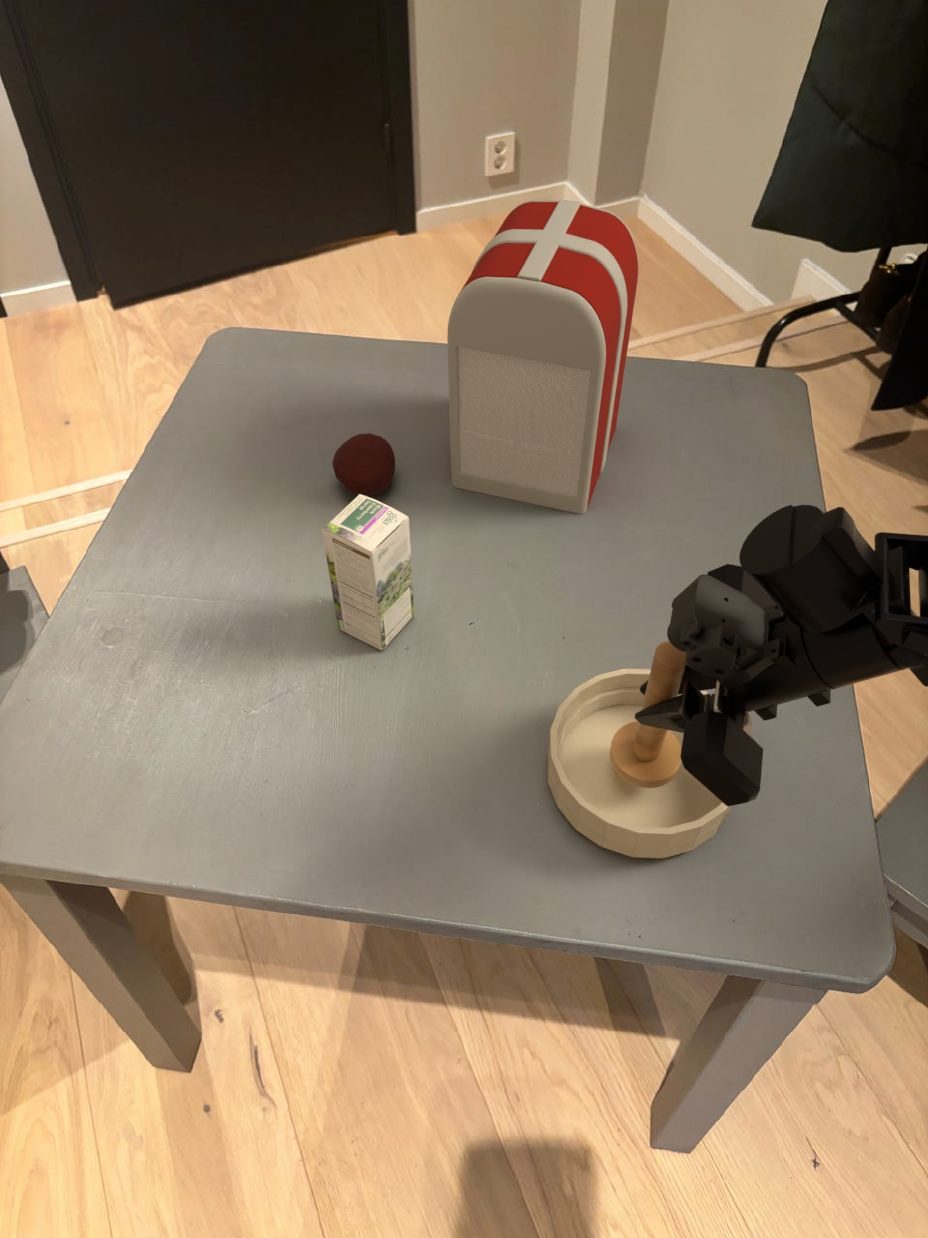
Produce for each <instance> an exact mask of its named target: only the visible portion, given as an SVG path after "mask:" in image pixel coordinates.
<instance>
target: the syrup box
mask: <svg viewBox="0 0 928 1238" xmlns="http://www.w3.org/2000/svg"><path fill="white" fill-rule="evenodd" d="M321 533H322V539H323V544H324V545H323V546H324V551H325V557H326V563H327V570H328V577H329V582H330V587H331V594H332V599H333V606H334V612H335V613H334V614H335V619H336V626H337V629H339V630H340V631H342V632H344V633H346V634H347V635H349V636H351V637H353V638H355V639H357V640H358V641H361V642H363V643H365V644H367V645H369V646H371V647H373V648H375V649H378V650H379V651H381V652H384V651H385V650H386V649H387V648H388V646H389V645H390V644H391V643H392V642H393V641H394V639H395V638H396V637H397V636H398V635H399V634H400V633H401V632H402V630H403V629H404V628H405V627H406V626H407V625H408V624H409V622H411V620H412V619H413V618H414V617H415V602H414V587H413V586H414V585H413V583H414V582H413V566H412V565H413V563H412V549H411V535H410V534H411V533H410V518H409V516H408V515H407V514H405V513H403V512H401V511H399V510H397V509H396V508H393V507H392V506H389V505H387V504H385V503H384V502H381V501H379V500H377V499H374V498H372V497H369V496H367V495H361V494H359V495H357V496H356V497H354V499H353V500H352V501H351V502H349V504H347V505H346V506H345V507H344V508H343V509H342V510H341V511H340V512H339V513H338V514H337V515H336V516H335V517H334V518H332V520H330V522H329V523H327V524H326V525H325V526H324V527H323V528H322V529H321Z"/></svg>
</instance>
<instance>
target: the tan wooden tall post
mask: <svg viewBox="0 0 928 1238" xmlns="http://www.w3.org/2000/svg"><path fill="white" fill-rule="evenodd" d="M685 658H686V652H685V651H680V650H678V649H677V648H675V647H674V646H673V645H672V644H671V643H670V641H669V640H668V641H663V642H661V643H660V644H658V645H657V646H656V648H655V651H654V654H653V658H652V663H651V667H650V669H651V671H650V675H649V680H648V684H647V688H646V692H645V696H644V701H643V705H642V709H641V710H643V709H645V708H647V707H650V706H652V705H655V704H658V703H661V702H663V701H666V700H669V699H672V698H675V697H677V695H678V691H679V688H680V684H681V681H682V677H683V674H684V670H685V667H686V662H685ZM680 755H681V746H680V744H679V741H678V740H677V738H676V737H675V736H674V734H673V733H672V732H670V731H669V730H666V729H661V728H656V727H652V726H647V725H642V724H640V723H639V722H638V721H636V722H632V723H629V724H626V725H624V726H623V727H621V728H620V729H619V730H618V731H617V732H616V733H615V735H614V737H613V739H612V743H611V747H610V761H611V764H612V767H613V768H614V770H615V771H616V773H617V774H618V775H619V776H620V777H621V778H622V779H623V780H625V781H626V782H628V783H630V784H632V785H635V786H638V787H642V788H655V787H660V786H662V785H665V784H667V783H668V782H670V781H671V780H672V779H673V778H674V777H675V776H676V774H677V772H678V770H679V767H680V764H681V758H680Z"/></svg>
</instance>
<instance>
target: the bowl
mask: <svg viewBox="0 0 928 1238" xmlns="http://www.w3.org/2000/svg"><path fill="white" fill-rule="evenodd" d="M650 671H651V668H650V669H649V668H622V669H617V670H613V671H612V670H611V671H609V672H603V673H600V674H599V673H598V674H597V675H596V676H593V677H592V678H590V679H588V680H587V681H585V682H583V683H581V684H580V685H577V686H576V687H575V688H574V689H573V690H572V691H571V692H570V693H569V694H568V696H567V697H566V698H565V699H564V700H563V701H562V702H561V704H560V705H559V706H558V708H557V711H556V713H555V716H554V719H553V721H552V724H551V727H550V730H549V737H548V747H547V755H546V757H547V758H546V759H547V762H546V763H547V765H546V766H547V783H548V786H549V788H550V791H551V794H552V796H553V800H554V802H555V804H556V807H557V808H558V810H560V812H561V814H562V815H564V817H565V818H566V819H567V821H568V822H569V823H570V824H571V826H572V827H573V828H574V829H575V830H576V831H577V832H578V833H580V834H582V835H583V836H584V837H586V838H587V839H589V840H590V841H592V842H593V843H595V844H596V845H597V846H599V847H601V848H604V849H606V850H608V851H609V850H610V851H612V852H616V853H618V854H621V855H624V856H626V857H627V856H628V857H631V858H641V859H642V858H643V859H644V858H645V859H666V858H669V857H673V856H676V855H680V854H681V855H682V854H684V853H688V852H691V851H693V850H695V849H696V848H698V847H700V846H701V845H703V843H705V842H706V841H708V840H709V839H711V838H713V837H714V836H715V835H716V833H717V832H718V831H719V829H720V828H721V826H722V824H723V823H724V822H725V820H726V819H727V817H728V816H729V814H730V812H731V809H732V808H733V806H734V805H732V806H726V805H725V804H724V803H723V802H722V801H720V800H719V799H718V798H717V797H716V796H715V795H714V794H713V793H711V792H710V791H709V790H708V789H707V788H706V787H705V786H704V785H702V784H701V783H700V782H699V781H698V780H697V779H696V778H695V777H693V776H692V775H691V774H690V773H689V772H688V771H687V770H686V769H684V766H683V763H682V760H681V764H680V767H679V770H678V772H677V774H676V776H675V777H674V778H673V779H672V780H671V781H670V782H668V783H667V784H665V785H662V786H660V787H655V788H642V787H638V786H635V785H632V784H630V783H628V782H626V781H625V780H623V779H622V778H621V777H620V776H619V775H618V774H617V773H616V771H615V770H614V768H613V767H612V764H611V761H610V747H611V743H612V739H613V737H614V735H615V733H616V732H617V731H618V730H619V729H620V728H621V727H623V726H624V725H626V724H629V723H632V722H636V721H637V720H636V719H635V718H634V717H635V713H637V712H639V711H641V709H642V705H643V701H644V696H645V695H643V694H642V693H641V692H640V686H641V685H642V684H644V683H645V682H646V681H647V680H649V675H650ZM700 692H701V693H702V694H704V695H705V694H710V693H709V692H708V691H707V690H703V691H700ZM680 695H681V694H678V695H677V696H680ZM669 731H670V732H672V733H673V734H674V736H675V737H676V738H677V740H678V741H679V744H680V746H681V748H682V742H683V735H684V733H680V732H676V731H671V730H669Z"/></svg>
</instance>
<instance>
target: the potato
mask: <svg viewBox="0 0 928 1238" xmlns="http://www.w3.org/2000/svg"><path fill="white" fill-rule="evenodd" d="M395 456H396V455H395V452H394V449H393V447H392V445H391V444H390V442H389V441H387V440H386V439H385V438H383V436H380V435H377V434H375V433H369V432H368V433H358V434H356V435H353V436H351V437H350V438H348V439H347V440H345V442H342V444H341V445H340V446H339V447H338V448H337V449H336V450H335V453H334V455H333V459H332V462H331V464H332V469H333V472H334V475H335V477H336V480H338V481H339V482H340V484H341V485H342V486H343V487H344V488H345V489H346V490H347V491H349V492H351V493H353V494H355V495H357V496H358V495H359V494H361V495H364V496H367V497H369V496H374V495H377V494H379V493H381V492H383V491H384V490H386V489H387V488H388V487H389V485H390V484H391V483H392V480H393V478H394V475H395V469H396V457H395Z"/></svg>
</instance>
